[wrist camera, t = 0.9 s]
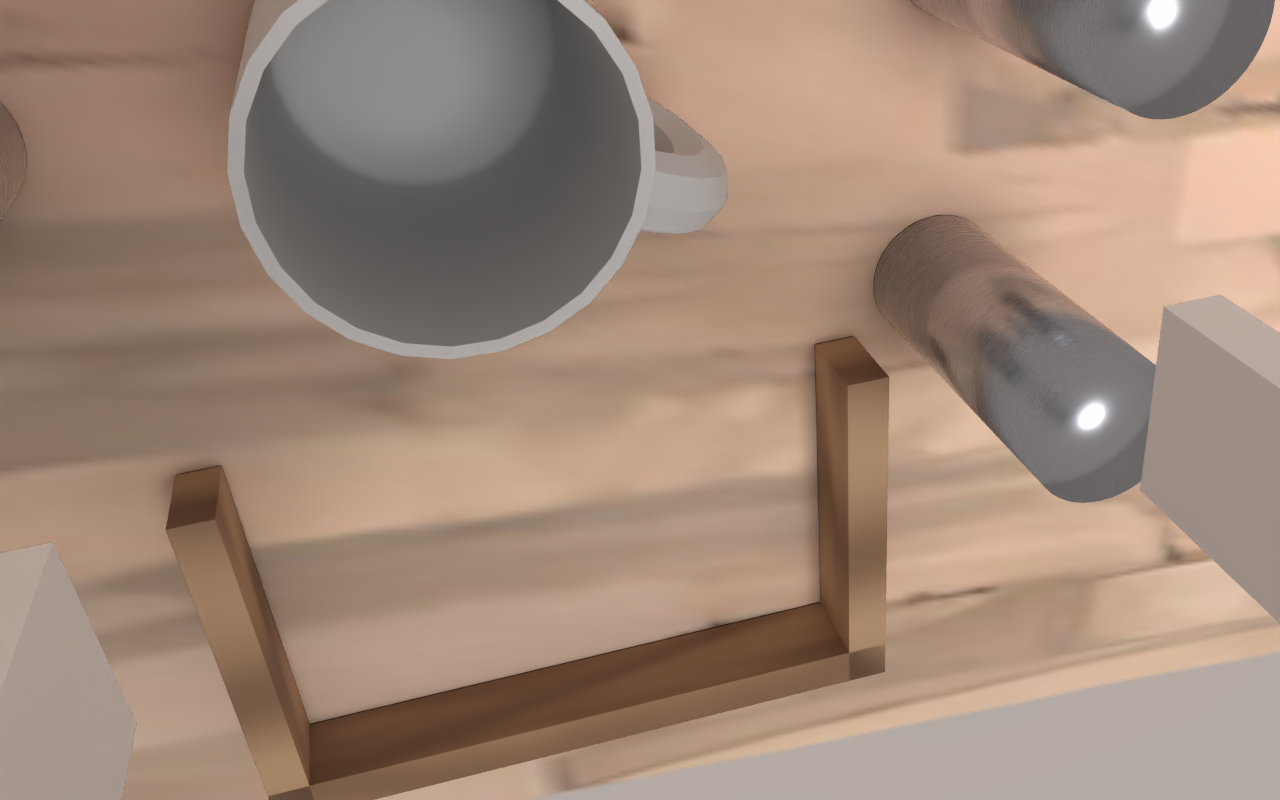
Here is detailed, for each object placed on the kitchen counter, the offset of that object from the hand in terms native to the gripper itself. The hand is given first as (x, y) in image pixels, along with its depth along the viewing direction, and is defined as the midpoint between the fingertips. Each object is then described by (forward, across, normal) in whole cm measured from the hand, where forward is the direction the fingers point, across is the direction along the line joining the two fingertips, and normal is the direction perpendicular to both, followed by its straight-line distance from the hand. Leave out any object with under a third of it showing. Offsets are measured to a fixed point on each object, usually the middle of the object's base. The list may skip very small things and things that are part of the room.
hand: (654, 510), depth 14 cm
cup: (+18, 0, +1) cm, 18 cm away
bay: (+17, 0, -14) cm, 22 cm away
